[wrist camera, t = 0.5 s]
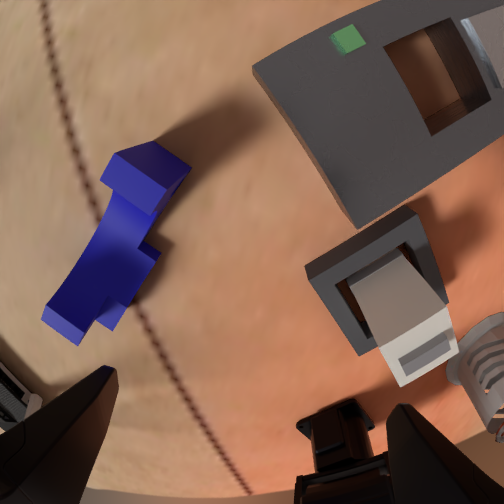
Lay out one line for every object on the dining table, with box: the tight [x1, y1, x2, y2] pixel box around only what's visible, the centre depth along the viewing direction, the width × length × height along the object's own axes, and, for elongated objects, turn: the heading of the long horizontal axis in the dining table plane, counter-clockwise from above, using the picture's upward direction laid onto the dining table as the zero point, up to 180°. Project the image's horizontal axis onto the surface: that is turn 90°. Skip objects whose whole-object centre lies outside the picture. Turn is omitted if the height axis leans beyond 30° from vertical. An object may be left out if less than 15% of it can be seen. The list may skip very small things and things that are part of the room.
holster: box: [305, 205, 449, 356], centre depth 21 cm, size 8×8×2 cm
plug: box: [346, 248, 459, 388], centre depth 18 cm, size 4×4×9 cm
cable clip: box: [41, 141, 192, 346], centre depth 18 cm, size 12×4×6 cm, turn 143°
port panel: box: [252, 0, 504, 230], centre depth 14 cm, size 10×18×4 cm, turn 124°
